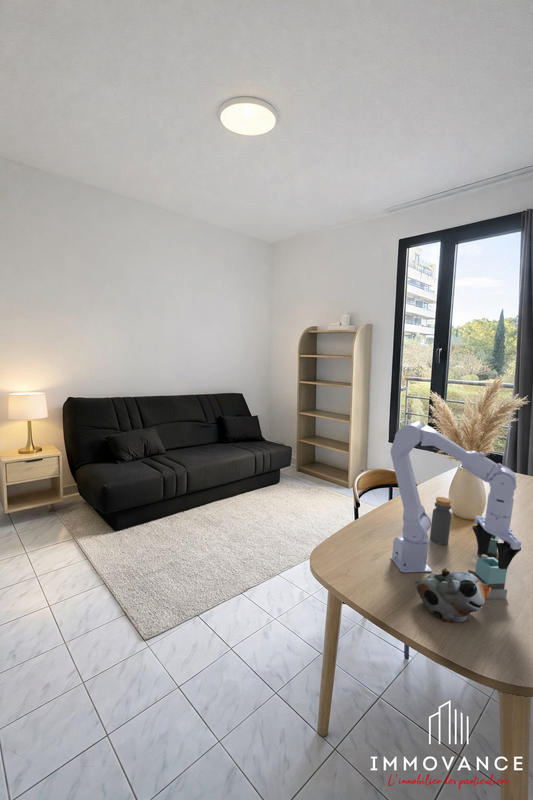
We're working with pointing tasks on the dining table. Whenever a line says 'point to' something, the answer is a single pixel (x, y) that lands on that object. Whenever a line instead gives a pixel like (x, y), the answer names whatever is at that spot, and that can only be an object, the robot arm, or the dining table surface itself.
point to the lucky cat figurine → (453, 594)
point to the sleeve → (490, 572)
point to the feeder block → (498, 593)
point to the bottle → (441, 521)
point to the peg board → (484, 554)
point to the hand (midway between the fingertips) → (492, 559)
